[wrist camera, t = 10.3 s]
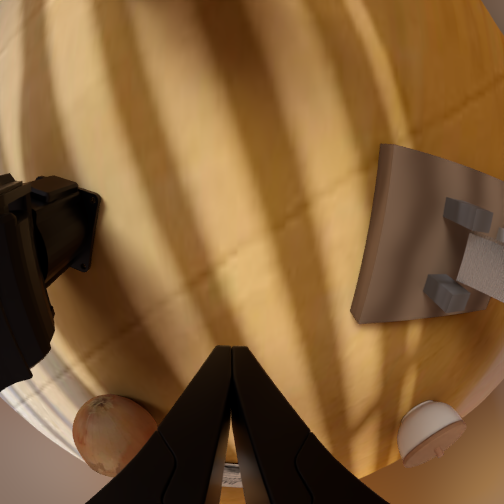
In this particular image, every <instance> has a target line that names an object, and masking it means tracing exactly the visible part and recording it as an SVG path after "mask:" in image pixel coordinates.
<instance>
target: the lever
mask: <svg viewBox="0 0 504 504" xmlns="http://www.w3.org/2000/svg"><path fill="white" fill-rule="evenodd" d="M456 281H459V282H461V283H463V284H465V285H468V286H470V287H472V288H474V289H476V290H478V291H481V292H483V293H485V294H487V295H489V296H491V297H493V298H495V299H497V300H499V301H501V302H503V303H504V242H501V241H499V240H496V239H494V238H491V237H489V236H486V235H484V234H481V233H479V232H476V231H471V232H470V233H469V237H468V241H467V245H466V249H465V253H464V256H463V260H462V263H461V266H460V270H459V273H458V276H457V279H456Z"/></svg>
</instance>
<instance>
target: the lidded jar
mask: <svg viewBox="0 0 504 504" xmlns="http://www.w3.org/2000/svg"><path fill="white" fill-rule="evenodd" d="M465 429H466V424H465V422H464V421H463V420H462V419H461V417H460V416H459V414H458V413H457V412H456V411H455V410H454V409H453V408H452V407H451V406H450V405H448V404H446V403H443V402H433V401H432V400H428V401H425V402H423V403H421V404H419V405H417V406H415V407H414V408H413V409H411V410H410V411H409V412H408V413H407V414H406V415H405V416H404V417H403V419H402V421H401V426H400V428H399V431H398V435H397V444H398V449H399V452H400V455H401V458H402V460H403V464H404V466H405V467H407V468H410V467H414V466H417V465H420V464H422V463H425V462H427V461H429V460H430V459H432V458H434V457H435V456H437V457H438V458H440V457H441V456H442V455H444V453H443V451H444V450H446V449H447V448H448V447H450V446H451V445H452V444H453V443H454V442H455V441H456V440H457V439H458V438H459V437H460V436H461V435H462V434H463V432H464V431H465Z"/></svg>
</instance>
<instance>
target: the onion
mask: <svg viewBox="0 0 504 504" xmlns="http://www.w3.org/2000/svg"><path fill="white" fill-rule="evenodd" d="M157 428H158V426H157V423H156V421H155V420H154V418H153V417H152V416H151V415H150V414H149V412H148V411H147V410H145V409H144V408H143V407H141V406H140V405H139V404H137V403H135V402H134V401H133V400H131V399H128V398H124V397H121V396H118V395H112V394H107V395H101V396H97V397H94V398H92V399H90V400H89V401H87V402H86V403H85V404H84V405H83V406H82V407H81V408H80V410H79V411H78V413H77V415H76V417H75V420H74V423H73V439H74V442H75V445H76V447H77V449H78V451H79V453H80V455H81V456H82V458H83V459H84V460H85V462H86V463H87V464H88V465H89V466H90V467H91V468H92V469H93V470H94V471H96V472H98V473H100V474H102V475H105V476H109V477H115V476H116V475H117V474H118V473H119V472H120V471H121V470H122V469H123V468H124V467H125V466H126V465H127V464H128V463H129V462H130V461H131V460H132V459H133V458H134V457H135V456H136V455H137V453H138V452H139V451H140V450H141V448H142V447H143V446H144V445H145V443H146V442H147V441H148V440H149V438H150V437H151V436H152V434H153V433H154V431H156V430H157ZM157 431H158V430H157Z"/></svg>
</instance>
